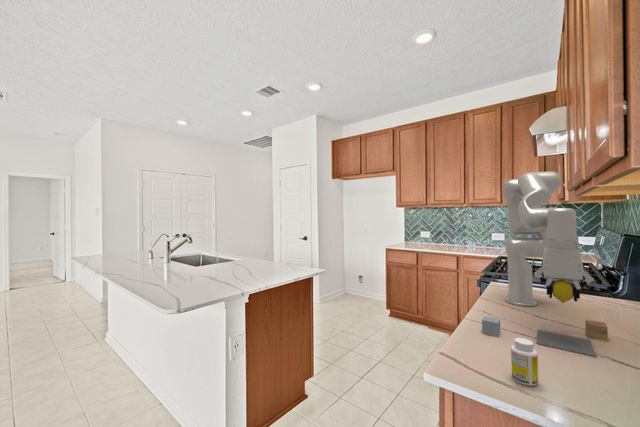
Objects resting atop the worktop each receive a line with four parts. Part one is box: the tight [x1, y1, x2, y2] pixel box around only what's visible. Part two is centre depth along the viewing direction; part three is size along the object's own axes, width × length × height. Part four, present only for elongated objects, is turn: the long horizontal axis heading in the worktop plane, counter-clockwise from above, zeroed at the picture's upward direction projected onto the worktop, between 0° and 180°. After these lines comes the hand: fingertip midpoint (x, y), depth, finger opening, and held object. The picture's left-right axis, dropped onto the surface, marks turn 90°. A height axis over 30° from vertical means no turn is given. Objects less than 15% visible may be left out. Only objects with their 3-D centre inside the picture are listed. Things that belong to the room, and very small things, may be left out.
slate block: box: [481, 315, 501, 338], centre depth 100 cm, size 5×5×5 cm
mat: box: [536, 329, 597, 358], centre depth 92 cm, size 14×14×1 cm
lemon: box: [552, 279, 574, 304], centre depth 92 cm, size 6×6×8 cm
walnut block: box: [584, 318, 609, 342], centre depth 96 cm, size 5×5×5 cm
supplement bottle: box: [510, 337, 539, 387], centre depth 72 cm, size 6×6×10 cm
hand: (562, 298), depth 92 cm, fingers closed on lemon, 5 cm apart
